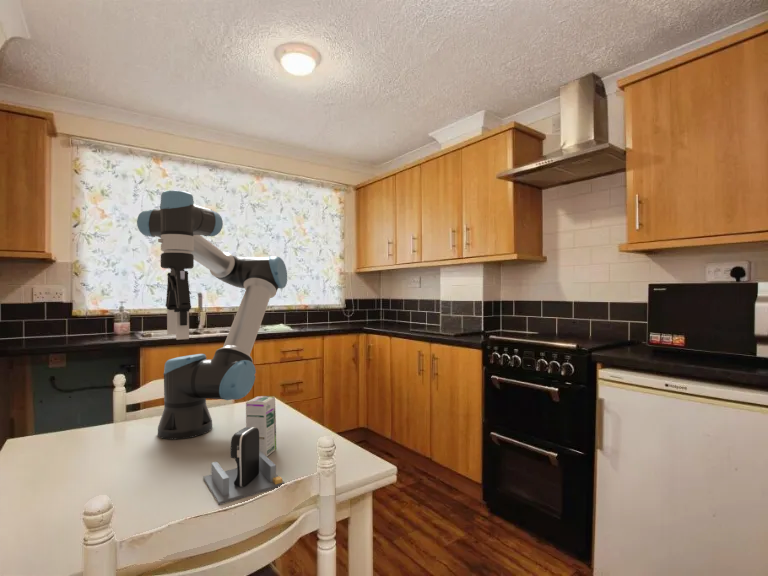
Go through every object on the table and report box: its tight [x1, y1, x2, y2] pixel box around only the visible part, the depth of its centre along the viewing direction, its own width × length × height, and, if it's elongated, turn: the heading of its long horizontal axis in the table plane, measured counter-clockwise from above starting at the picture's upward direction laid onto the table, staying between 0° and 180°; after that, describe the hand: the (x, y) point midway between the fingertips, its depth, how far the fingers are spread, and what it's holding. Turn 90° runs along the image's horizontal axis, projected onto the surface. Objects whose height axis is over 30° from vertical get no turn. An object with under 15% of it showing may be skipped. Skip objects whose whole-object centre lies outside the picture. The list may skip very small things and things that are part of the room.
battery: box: [230, 426, 259, 487], centre depth 93 cm, size 7×4×11 cm, turn 168°
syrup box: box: [245, 395, 277, 458], centre depth 110 cm, size 6×6×14 cm
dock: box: [202, 451, 286, 505], centre depth 93 cm, size 14×14×4 cm
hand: (177, 336), depth 105 cm, fingers open, 13 cm apart
